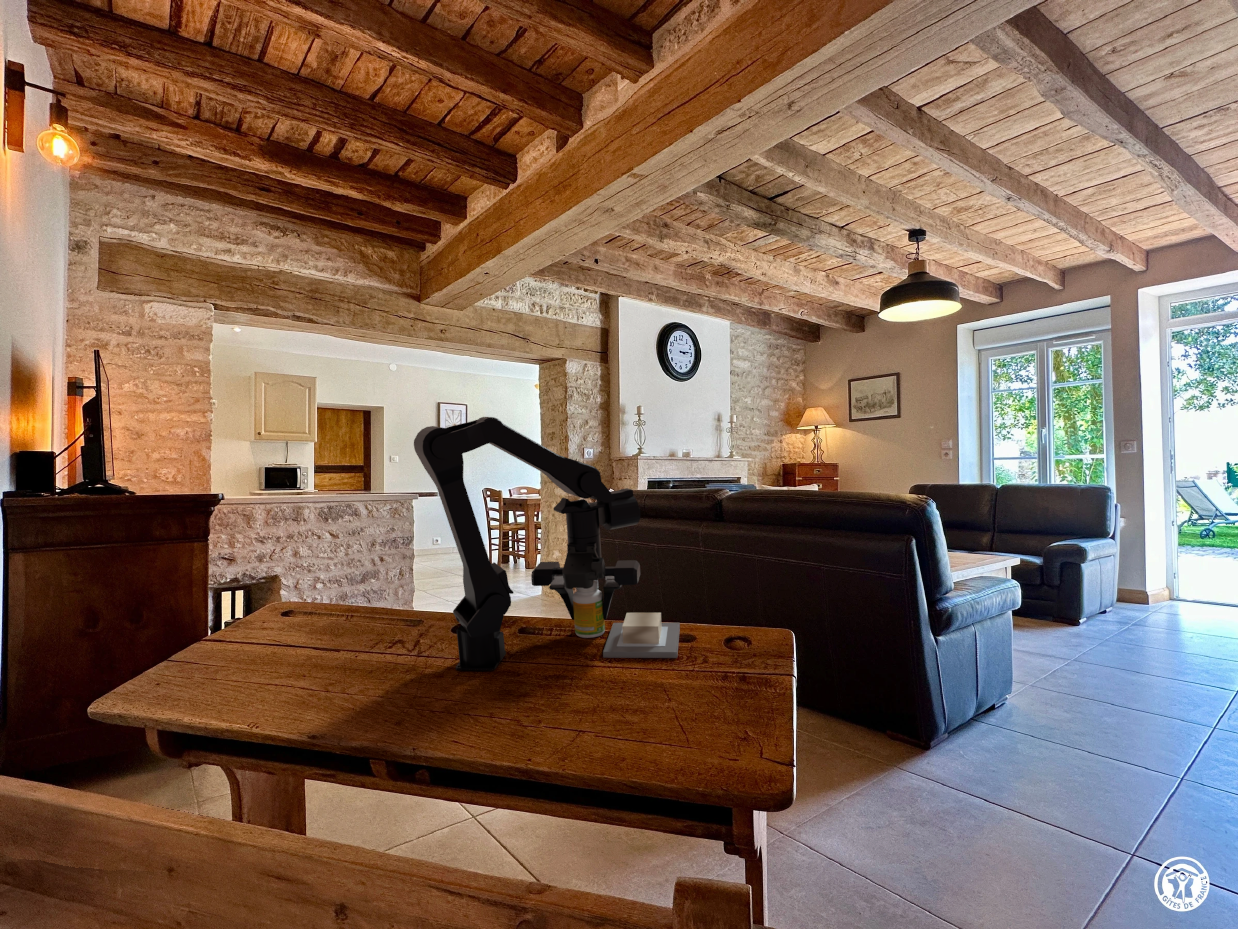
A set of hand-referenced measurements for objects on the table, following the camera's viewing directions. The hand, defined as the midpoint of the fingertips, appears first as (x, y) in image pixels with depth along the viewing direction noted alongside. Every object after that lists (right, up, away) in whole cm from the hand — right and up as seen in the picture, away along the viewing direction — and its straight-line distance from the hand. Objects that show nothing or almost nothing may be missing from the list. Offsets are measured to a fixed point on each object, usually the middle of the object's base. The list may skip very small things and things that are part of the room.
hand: (589, 619), depth 112 cm
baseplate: (+9, -3, -5) cm, 11 cm away
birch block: (+9, -2, -5) cm, 11 cm away
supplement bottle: (0, -3, 0) cm, 3 cm away
